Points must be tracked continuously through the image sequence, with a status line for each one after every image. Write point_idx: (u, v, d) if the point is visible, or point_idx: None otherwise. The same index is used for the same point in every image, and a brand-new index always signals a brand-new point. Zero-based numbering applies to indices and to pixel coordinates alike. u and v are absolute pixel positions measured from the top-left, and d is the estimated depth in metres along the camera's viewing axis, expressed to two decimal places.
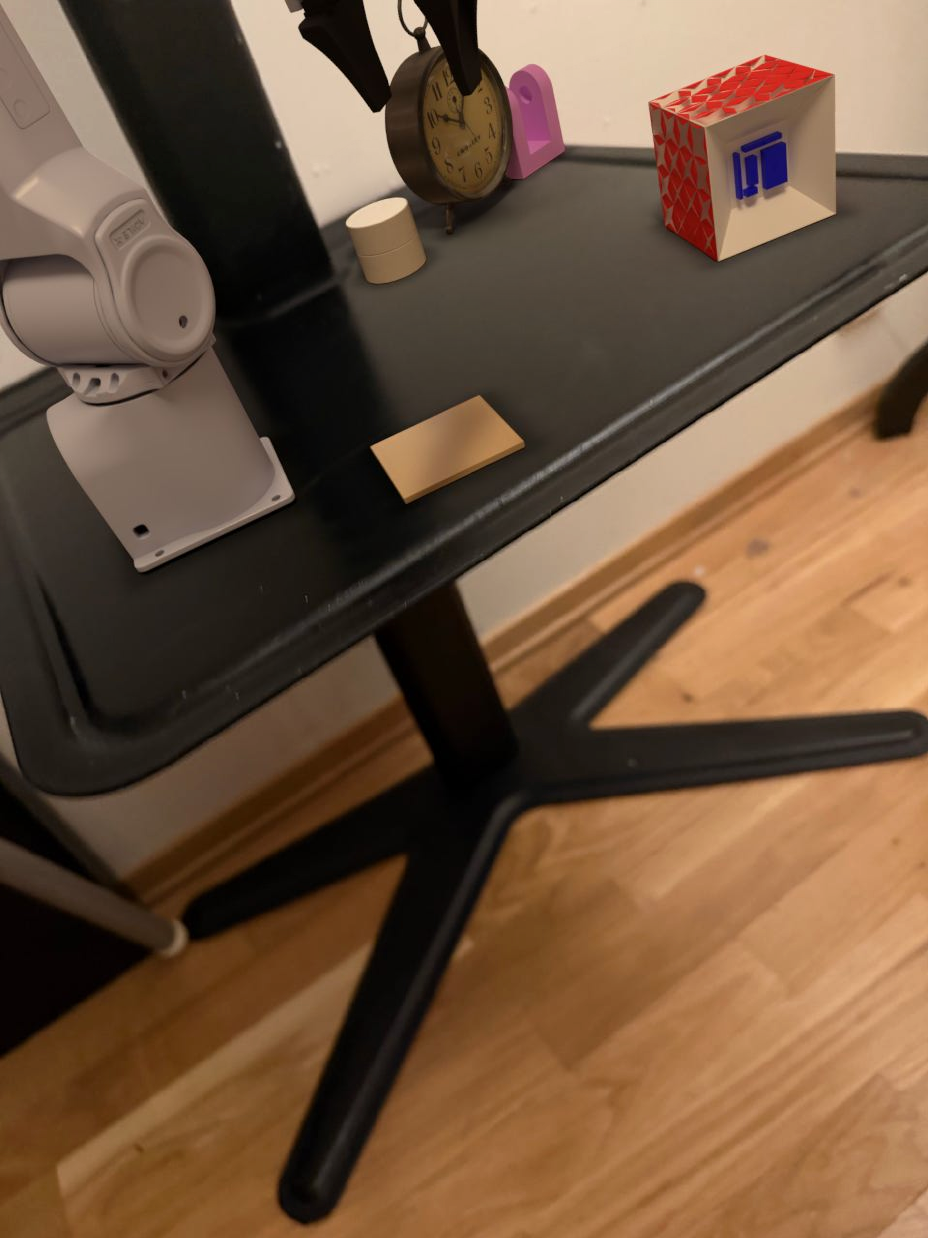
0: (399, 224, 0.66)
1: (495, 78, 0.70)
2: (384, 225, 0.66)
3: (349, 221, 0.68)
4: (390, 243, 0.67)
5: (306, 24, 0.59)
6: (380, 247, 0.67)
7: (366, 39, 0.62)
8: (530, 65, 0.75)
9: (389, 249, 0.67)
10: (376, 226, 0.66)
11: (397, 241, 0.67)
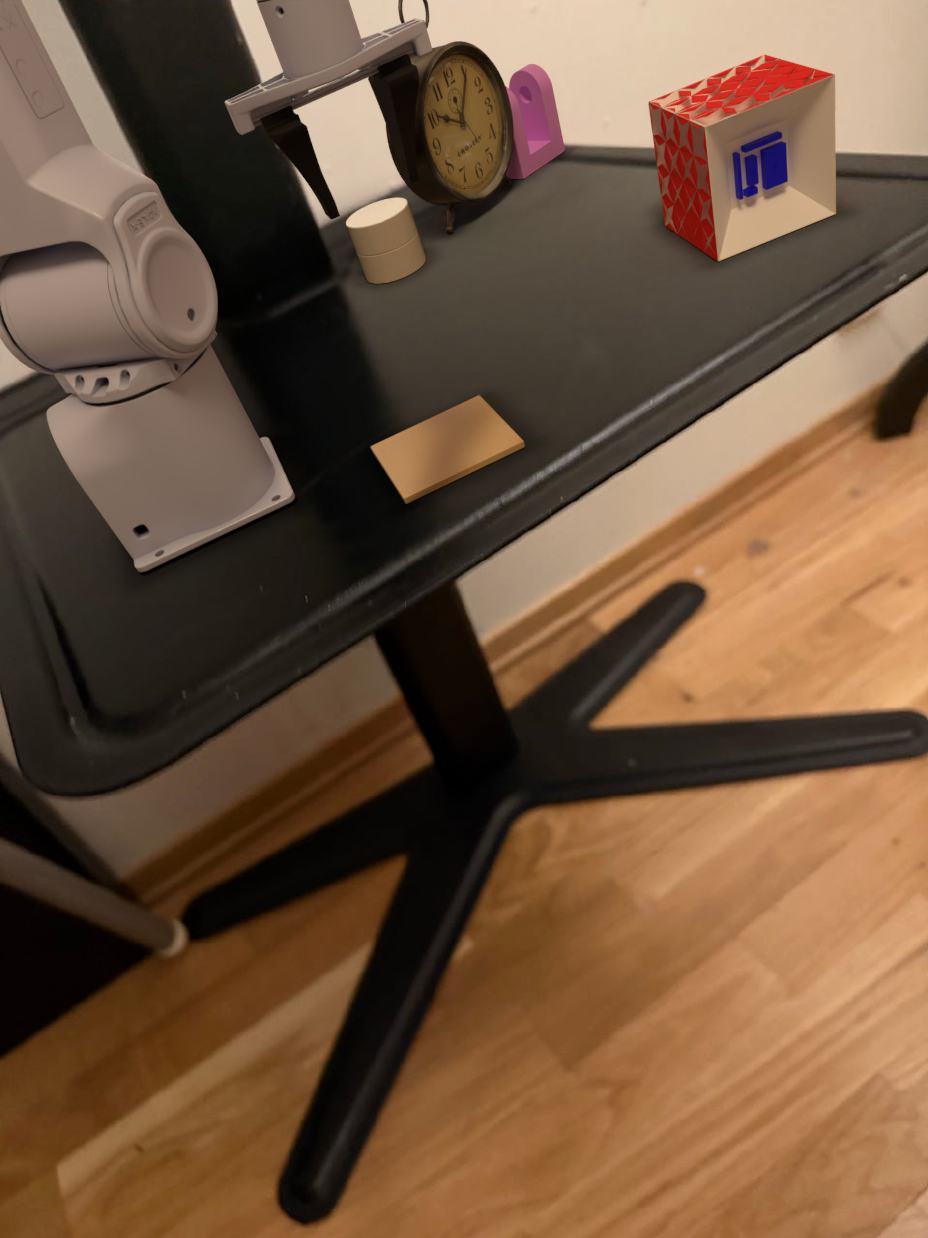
0: (399, 224, 0.66)
1: (496, 79, 0.70)
2: (384, 225, 0.66)
3: (349, 221, 0.68)
4: (390, 243, 0.67)
5: (283, 130, 0.60)
6: (380, 247, 0.67)
7: None
8: (530, 65, 0.75)
9: (389, 249, 0.67)
10: (376, 226, 0.66)
11: (397, 241, 0.67)
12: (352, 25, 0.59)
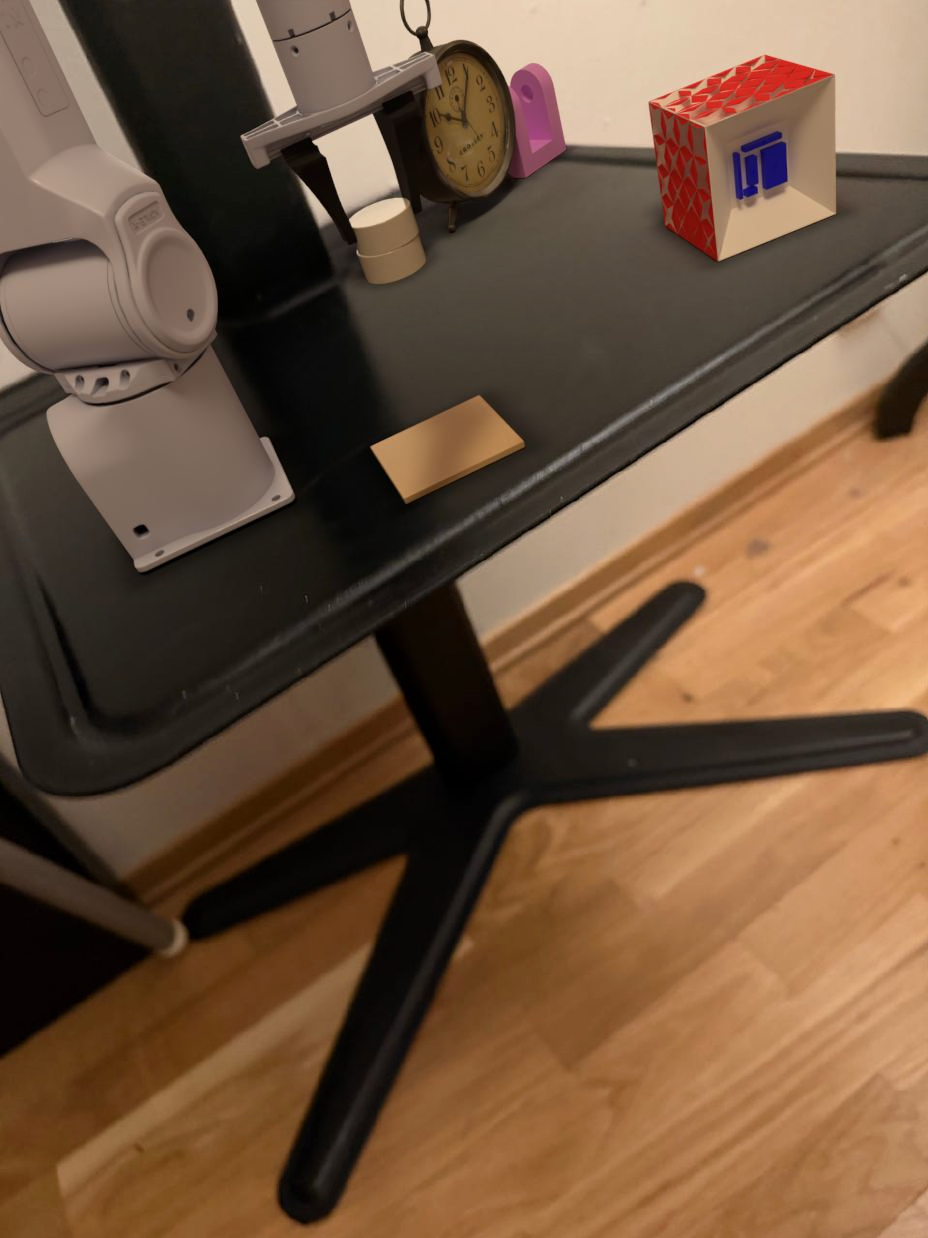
0: (400, 224, 0.66)
1: (498, 77, 0.71)
2: (386, 225, 0.66)
3: (351, 221, 0.68)
4: (392, 243, 0.67)
5: (303, 161, 0.62)
6: (382, 247, 0.67)
7: None
8: (531, 64, 0.75)
9: (391, 249, 0.67)
10: (378, 226, 0.66)
11: (399, 241, 0.67)
12: (365, 62, 0.60)
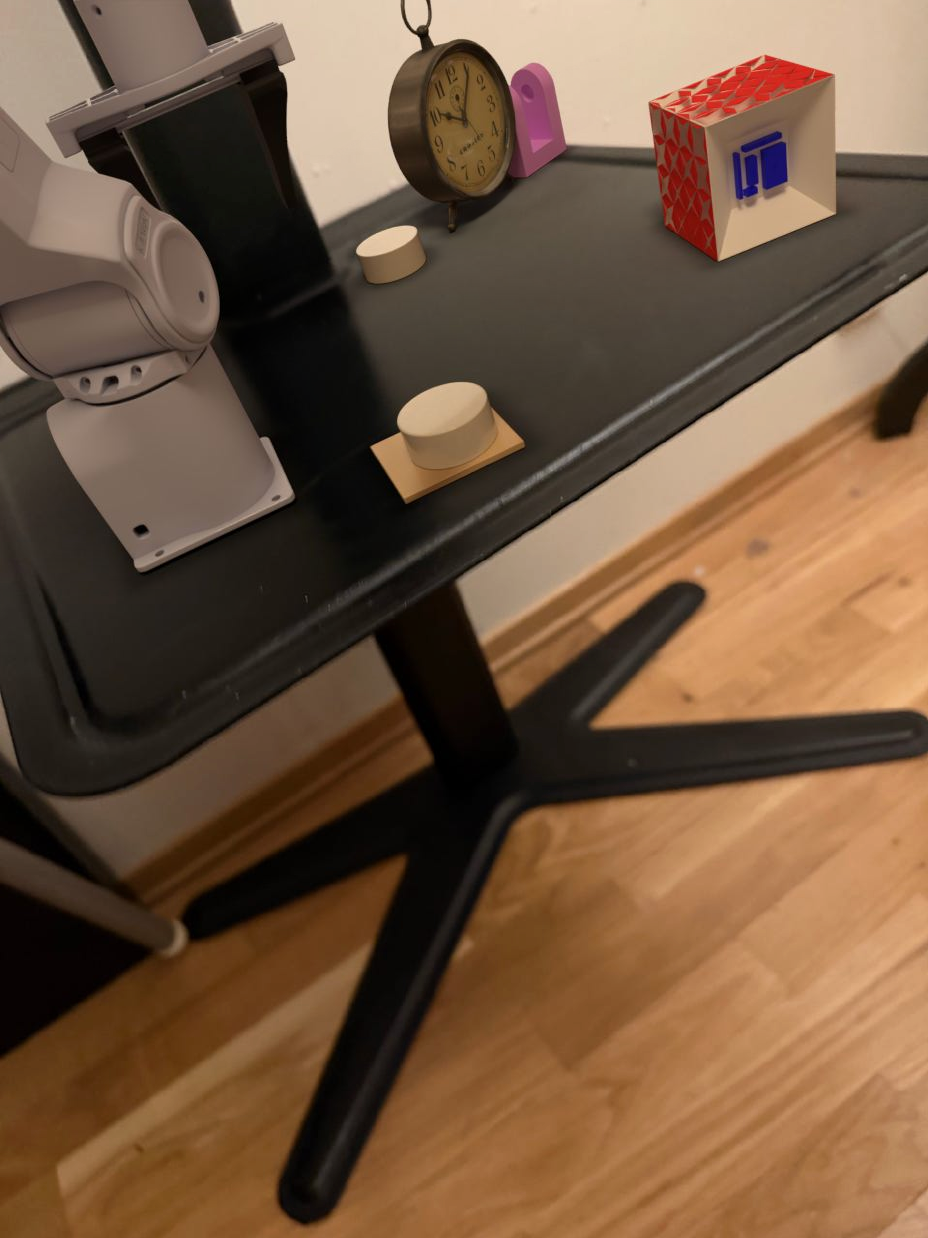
0: (475, 430, 0.46)
1: (499, 76, 0.70)
2: (454, 434, 0.46)
3: (403, 420, 0.48)
4: (462, 455, 0.47)
5: (103, 156, 0.51)
6: (448, 460, 0.47)
7: (149, 186, 0.55)
8: (532, 64, 0.75)
9: (460, 463, 0.47)
10: (443, 435, 0.46)
11: (472, 452, 0.47)
12: (190, 28, 0.49)
